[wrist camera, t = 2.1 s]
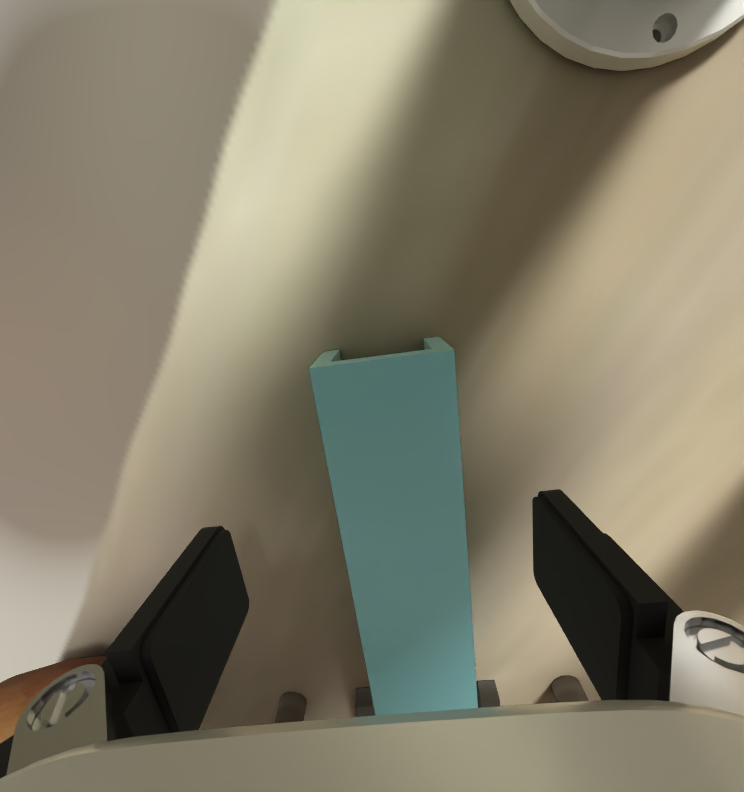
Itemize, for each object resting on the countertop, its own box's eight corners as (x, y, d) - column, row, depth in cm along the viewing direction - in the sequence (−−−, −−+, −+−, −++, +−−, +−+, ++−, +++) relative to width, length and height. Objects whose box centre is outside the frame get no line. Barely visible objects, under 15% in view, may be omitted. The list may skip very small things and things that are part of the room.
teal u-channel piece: (324, 351, 18) (308, 368, 14) (439, 336, 18) (454, 349, 14) (378, 656, 25) (377, 724, 21) (463, 651, 24) (478, 719, 20)
